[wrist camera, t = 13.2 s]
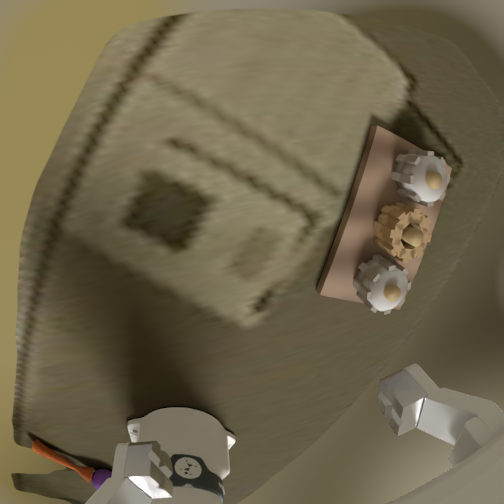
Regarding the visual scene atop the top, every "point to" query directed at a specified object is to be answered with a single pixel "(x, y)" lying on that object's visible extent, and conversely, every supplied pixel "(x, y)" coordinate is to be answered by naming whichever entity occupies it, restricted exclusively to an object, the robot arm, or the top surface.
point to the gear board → (367, 211)
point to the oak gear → (400, 230)
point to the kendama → (85, 472)
